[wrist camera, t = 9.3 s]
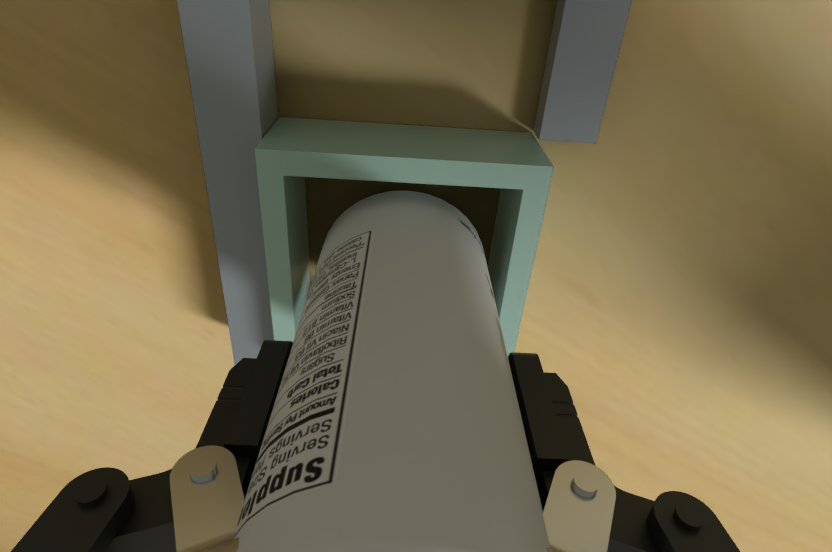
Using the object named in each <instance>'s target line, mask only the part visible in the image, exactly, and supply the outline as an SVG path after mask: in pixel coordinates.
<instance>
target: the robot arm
mask: <svg viewBox="0 0 832 552" xmlns="http://www.w3.org/2000/svg"><path fill="white" fill-rule="evenodd" d="M292 345H293V342H292V341H277V340H264V342H263V343H262V346H261V349H260V351H259V354H258V356H257V358H242V359H241V360H240V361H239V362H238V363H237V364H236V365H235V366H234V367H233V368H232V369H231V370H230V371H229V373H228V376H227V378H226V380H225V382H224V385H223V389H221V392H220V394H219V396H218V401H216V403H215V405H214V408H213V410H212V412H211V414H210V417H209V419H208V421H207V424H206V426H205V428H204V431H203V433H202V435H201V437H200V440H199V442H198V444H197V446H196V448H195V449H194V450H192V451H190V452H188V453H186V454H185V455H183V456H182V457H181V458H180V459H179V460H178V461H177V462H176V463H175V465H174V466H173V468H172V469H170V470H168V471H165V472H162V473H159V474H155V475H151V476H146V477H142V478H138V479H133V480H129V479H128V477H127V475H126V474H125V473H124V472H123V471H121V470H119V469H115V468H99V469H94V470H91V471H88V472H86V473H83V474H82V475H80V476H78V477H76V478H75V479H73V480H72V481H71V482H69V483H68V484H67V485H66V486H65V487H64V488H63V489H62V490H61V492H60V493H59V494H58V495H57V496H56V498H55V499H54V500H53V501H52V503H51V504H50V505H49V506H48V507H47V509H46V510H45V511H44V512H43V513H42V515H41V516H40V517H39V518H38V519H37V521H36V522H35V523H34V524H33V526H32V527H31V528H30V529H29V530H28V532H27V533H26V534H25V535H24V536H23V538H22V539H21V540H20V541H19V542H18V544H17V545H16V546H15V547H14V549H13V550H12V551H11V552H237V551H238V547H239V538H236V539H234V535H235V531H236V528H237V524H238V521H239V518H240V515H241V511H242V508H243V505H244V502H245V496H246V493H247V490H248V487H249V483H250V480H251V477H252V474H253V470H254V467H255V464H256V461H257V458H258V455H259V452H260V448H261V445H262V442H263V439H264V435H265V432H266V429H267V426H268V422H269V419H270V416H271V413H272V410H273V406H274V403H275V400H276V397H277V393H278V390H279V387H280V384H281V380H282V377H283V374H284V371H285V368H286V364H287V361H288V358H289V355H290V351H291V348H292ZM508 360H509V364H510V369H511V373H512V378H513V382H514V387H515V391H516V395H517V400H518V404H519V409H520V413H521V417H522V422H523V426H524V431H525V435H526V439H527V444H528V448H529V453H530V457H531V461H532V466H533V470H534V475H535V479H536V483H537V488H538V492H539V497H540V501H541V506H542V510H543V517H544V522H545V526H546V531H547V535H548V539H549V544H550V549H548V548H547V549H546V552H740V550H739V549H738V548H737V546H736V545H735V543H734V542H733V540H732V539H731V537H730V536H729V534H728V533H727V531H726V530H725V528H724V527H723V526H722V524H721V523H720V521H719V520H718V518H717V517H716V515H715V514H714V513H713V512H712V510H711V509H710V508H709V507H708V506H707V505H705V504H704V503H703V502H701V501H700V500H698V499H697V498H695V497H693V496H691V495H689V494H686V493H683V492H677V491H669V492H664V493H662V494H661V495H659V496H658V497H657V499H656V500H655V501H652V500H649V499H646V498H643V497H639V496H636V495H633V494H630V493H628V492H625V491H623V490H621V489H619V488H617V487H615V486H614V484H613V483H612V481H611V479H610V478H609V477H608V475H607V474H606V473H605V472H604V471H602V470H601V469H600V468H598V467H596V465H595V463H594V461H593V458H592V455H591V452H590V449H589V446H588V443H587V441H586V438H585V435H584V432H583V429H582V426H581V423H580V420H579V418H578V417H577V412H576V409H575V406H574V405H573V400H572V397H571V395H570V392H569V389H568V387H567V385H566V384H565V383H564V382H563V381H562V380H561V379H560V377H559V376H558V375H557V374H556V373H543V369H542V366H541V363H540V359H539V356H538V355H537V354H533V353H513V352H511V353H509V356H508Z"/></svg>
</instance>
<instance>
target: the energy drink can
mask: <svg viewBox="0 0 832 552" xmlns="http://www.w3.org/2000/svg"><path fill="white" fill-rule="evenodd" d="M236 538H239V547H238V551H237V552H546V549H547V548H548V549H550V544H549V539H548V535H547V531H546V526H545V522H544V517H543V510H542V506H541V501H540V497H539V492H538V488H537V483H536V479H535V475H534V470H533V466H532V461H531V457H530V453H529V448H528V444H527V439H526V435H525V431H524V426H523V422H522V417H521V413H520V409H519V404H518V400H517V395H516V391H515V387H514V382H513V378H512V373H511V369H510V364H509V360H508V356H507V351H506V347H505V342H504V338H503V334H502V329H501V325H500V320H499V316H498V312H497V307H496V303H495V298H494V294H493V290H492V285H491V281H490V276H489V272H488V268H487V263H486V259H485V254H484V250H483V246H482V242H481V240H480V238H479V235H478V233H477V231H476V229H475V228H474V227H473V225H472V224H471V222H470V221H469V219H468V218H467V217H466V216H465V215H463V214H462V213H461V212H460V211H459V210H458V209H457V208H456V207H454V206H452V205H451V204H449V203H447V202H446V201H444V200H442V199H440V198H437V197H434V196H432V195H429V194H426V193H420V192H414V191H389V192H384V193H379V194H374V195H372V196H370V197H367V198H365V199H362V200H360V201H358V202H357V203H355V204H354V205H352V206H351V207H349V208H348V209H346V210H345V211H344V212H343V213H342V214H341V215H340V216H339V217H338V218H337V219H336V220H335V222H334V223H333V225H332V227H331V228H330V230H329V232H328V233H327V236H326V239H325V242H324V245H323V248H322V251H321V254H320V257H319V261H318V264H317V267H316V270H315V274H314V277H313V280H312V283H311V286H310V290H309V293H308V296H307V299H306V303H305V306H304V309H303V312H302V315H301V319H300V322H299V325H298V328H297V332H296V335H295V338H294V341H293V345H292V348H291V351H290V355H289V358H288V361H287V364H286V368H285V371H284V374H283V377H282V380H281V384H280V387H279V390H278V393H277V397H276V400H275V403H274V406H273V410H272V413H271V416H270V419H269V422H268V426H267V429H266V432H265V435H264V439H263V442H262V445H261V448H260V452H259V455H258V458H257V461H256V464H255V467H254V470H253V474H252V477H251V480H250V483H249V487H248V490H247V493H246V496H245V502H244V505H243V508H242V511H241V515H240V518H239V521H238V524H237V528H236V531H235V535H234V539H236Z"/></svg>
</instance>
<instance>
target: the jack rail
mask: <svg viewBox="0 0 832 552" xmlns="http://www.w3.org/2000/svg"><path fill="white" fill-rule="evenodd" d="M631 1H632V0H557V6H556V11H555V17H554V22H553V28H552V33H551V38H550V44H549V49H548V55H547V60H546V65H545V71H544V76H543V82H542V87H541V92H540V98H539V103H538V109H537V114H536V120H535V125H534V130H533V132H534V133H535V135H536V136H537V138H538V139H539V140H548V141H564V142H580V143H596V140H597V136H598V132H599V128H600V124H601V120H602V116H603V112H604V108H605V104H606V100H607V96H608V92H609V88H610V85H611V81H612V77H613V73H614V69H615V65H616V61H617V57H618V53H619V49H620V45H621V41H622V37H623V33H624V29H625V25H626V21H627V17H628V13H629V9H630V5H631ZM177 4H178V11H179V17H180V23H181V29H182V36H183V42H184V48H185V55H186V61H187V67H188V74H189V80H190V86H191V92H192V99H193V105H194V111H195V118H196V124H197V130H198V136H199V143H200V149H201V155H202V162H203V168H204V174H205V180H206V187H207V193H208V199H209V206H210V212H211V218H212V224H213V231H214V237H215V243H216V250H217V256H218V262H219V268H220V275H221V281H222V287H223V294H224V300H225V306H226V313H227V319H228V325H229V331H230V338H231V344H232V350H233V357H234V363H235V365H236V364H237V363H238V362H239V361H240V360H241V359H242V358H257V356H258V354H259V351H260V349H261V346H262V343H263V342H264V340H277V341H292V342H293V341H294V338H295V335H296V332H297V328H298V325H299V322H300V319H301V315H302V312H303V309H304V306H305V303H306V299H307V296H308V293H309V290H310V286H311V281H310V261H309V242H308V222H307V203H306V183H305V177H316V178H333V179H350V180H368V181H385V182H402V183H419V184H436V185H453V186H471V187H488V188H501V190H500V196H499V202H498V208H497V215H496V221H495V227H494V233H493V240H492V246H491V252H490V258H489V264H488V272H489V276H490V281H491V285H492V290H493V294H494V298H495V303H496V307H497V312H498V316H499V320H500V325H501V329H502V334H503V338H504V342H505V347H506V351H507V356H509V353H511V352H513V353H514V350H515V346H516V341H517V336H518V332H519V327H520V322H521V318H522V313H523V308H524V304H525V299H526V294H527V290H528V285H529V280H530V276H531V271H532V266H533V261H534V257H535V252H536V247H537V243H538V238H539V233H540V229H541V224H542V219H543V215H544V210H545V205H546V201H547V196H548V191H549V187H550V182H551V177H552V172H553V168H554V166H553V165H552V163H551V162H550V160H549V159H548V157H547V156H546V154H545V152H544V151H543V149H542V148H541V146H540V145H539V143H538V142H537V140H536V139H535V137H534V135H533V134H532V133H530V132H514V131H498V130H482V129H466V128H450V127H434V126H418V125H402V124H386V123H370V122H354V121H338V120H322V119H306V118H290V117H279V118H278V107H277V94H276V81H275V68H274V54H273V41H272V28H271V15H270V1H269V0H177Z"/></svg>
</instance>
